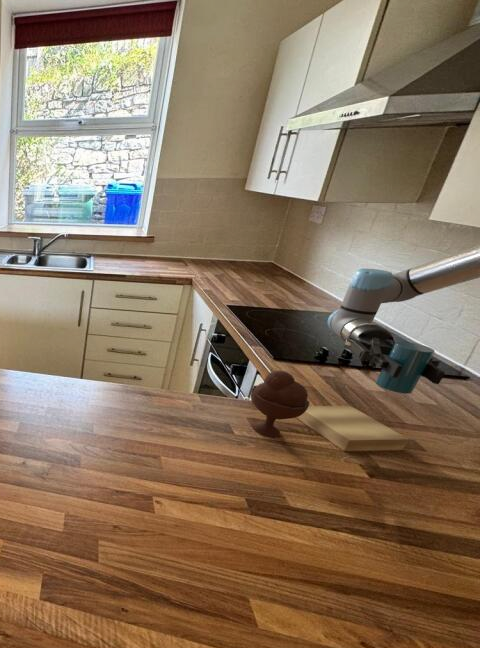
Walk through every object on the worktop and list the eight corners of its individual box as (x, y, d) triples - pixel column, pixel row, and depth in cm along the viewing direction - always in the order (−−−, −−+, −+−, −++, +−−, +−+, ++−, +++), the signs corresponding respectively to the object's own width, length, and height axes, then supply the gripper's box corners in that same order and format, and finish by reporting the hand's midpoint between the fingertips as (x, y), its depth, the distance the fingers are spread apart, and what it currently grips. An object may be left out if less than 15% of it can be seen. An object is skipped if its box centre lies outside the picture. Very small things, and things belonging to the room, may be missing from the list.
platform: (402, 450, 90) (409, 439, 88) (344, 451, 89) (349, 440, 87) (345, 415, 102) (350, 405, 101) (293, 416, 101) (297, 406, 100)
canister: (420, 393, 88) (443, 352, 84) (394, 393, 88) (416, 352, 84) (392, 380, 94) (412, 341, 90) (368, 380, 93) (387, 341, 89)
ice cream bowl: (235, 431, 95) (255, 374, 89) (245, 412, 102) (264, 359, 96) (290, 451, 88) (316, 391, 82) (296, 430, 96) (320, 374, 90)
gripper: (407, 357, 102) (469, 400, 82) (316, 344, 108) (354, 381, 89) (421, 330, 99) (489, 367, 79) (327, 318, 105) (369, 350, 86)
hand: (418, 374), depth 84 cm, fingers closed on canister, 6 cm apart
